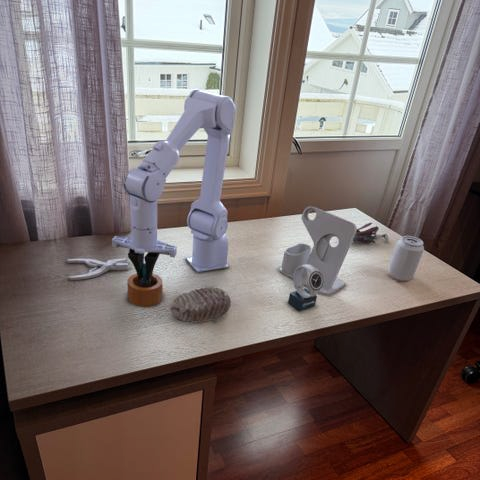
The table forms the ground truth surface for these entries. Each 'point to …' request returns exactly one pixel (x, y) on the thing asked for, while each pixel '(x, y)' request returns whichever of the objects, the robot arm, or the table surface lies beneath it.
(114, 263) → the pliers
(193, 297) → the seashell
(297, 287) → the watch
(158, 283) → the orange flowerpot
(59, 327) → the table surface
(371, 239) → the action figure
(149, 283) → the brush
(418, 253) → the can
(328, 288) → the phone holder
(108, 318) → the table surface
